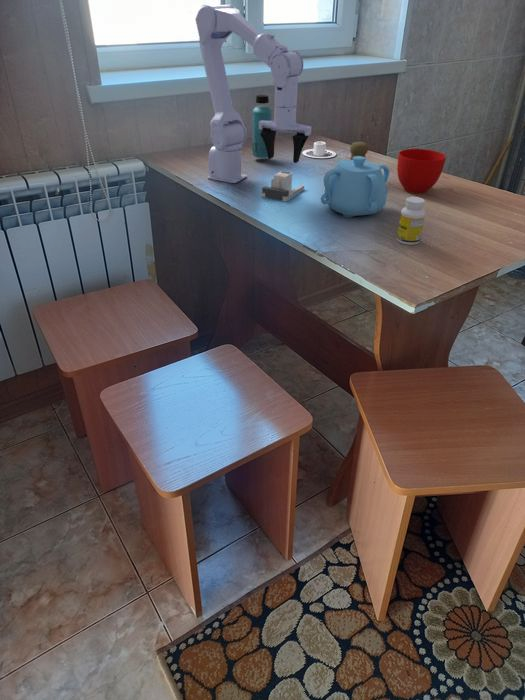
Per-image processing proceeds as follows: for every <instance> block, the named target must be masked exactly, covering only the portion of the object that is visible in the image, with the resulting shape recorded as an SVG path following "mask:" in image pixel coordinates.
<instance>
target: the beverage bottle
mask: <svg viewBox="0 0 525 700" xmlns="http://www.w3.org/2000/svg"><path fill="white" fill-rule="evenodd" d="M269 102H270V101H269V95H267V94H257V95H256V96H255V103H256V104H268V103H269ZM272 113H273V110H272V109H271V108H270V107H269V106H268V105H267V106H266V105H257V106H255V107H254V108H253V109H252V149H251V151H252V156H253V157H254V158H258V159H268V154H267V150H266V146H265V143H264V141H263V139H262V137H261V135H260V132H262V129H259V121H261V120H265V121H273V120H272V115H273V114H272Z"/></svg>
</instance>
